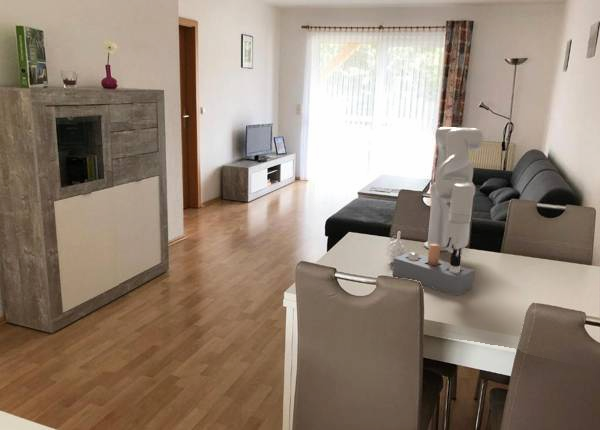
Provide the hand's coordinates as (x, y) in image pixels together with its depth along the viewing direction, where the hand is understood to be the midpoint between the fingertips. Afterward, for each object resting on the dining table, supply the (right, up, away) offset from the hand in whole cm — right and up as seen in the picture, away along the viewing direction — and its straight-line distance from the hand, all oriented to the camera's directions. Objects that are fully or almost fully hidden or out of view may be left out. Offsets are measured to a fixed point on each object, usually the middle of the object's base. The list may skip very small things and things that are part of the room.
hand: (454, 265), depth 187 cm
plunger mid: (-6, -1, +7) cm, 9 cm away
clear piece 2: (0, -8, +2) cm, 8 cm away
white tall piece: (-17, -2, +29) cm, 33 cm away
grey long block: (-6, -7, +9) cm, 13 cm away
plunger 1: (-13, -4, +15) cm, 20 cm away
